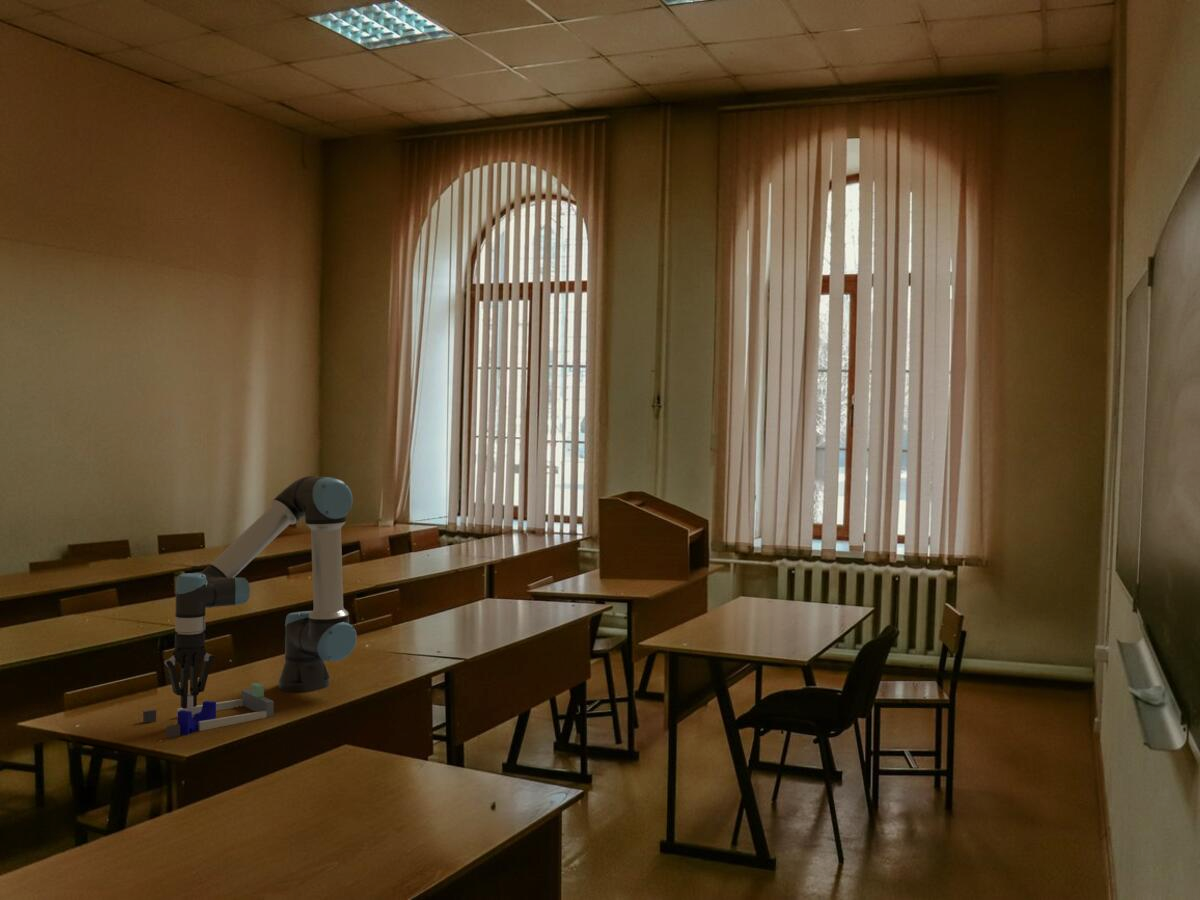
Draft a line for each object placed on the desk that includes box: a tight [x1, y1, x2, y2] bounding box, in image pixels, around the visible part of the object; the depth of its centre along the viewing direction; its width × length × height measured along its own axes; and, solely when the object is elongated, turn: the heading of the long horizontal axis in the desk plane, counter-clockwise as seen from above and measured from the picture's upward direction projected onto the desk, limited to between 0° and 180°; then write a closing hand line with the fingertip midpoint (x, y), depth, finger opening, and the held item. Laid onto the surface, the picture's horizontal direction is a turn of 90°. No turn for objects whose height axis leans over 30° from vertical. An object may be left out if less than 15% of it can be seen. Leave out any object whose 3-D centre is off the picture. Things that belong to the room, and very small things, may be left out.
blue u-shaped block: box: [177, 700, 217, 736], centre depth 271 cm, size 12×4×6 cm, turn 166°
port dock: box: [176, 682, 275, 732], centre depth 281 cm, size 20×17×8 cm
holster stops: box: [142, 709, 181, 740], centre depth 270 cm, size 3×20×3 cm, turn 41°
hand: (188, 719), depth 275 cm, fingers closed
